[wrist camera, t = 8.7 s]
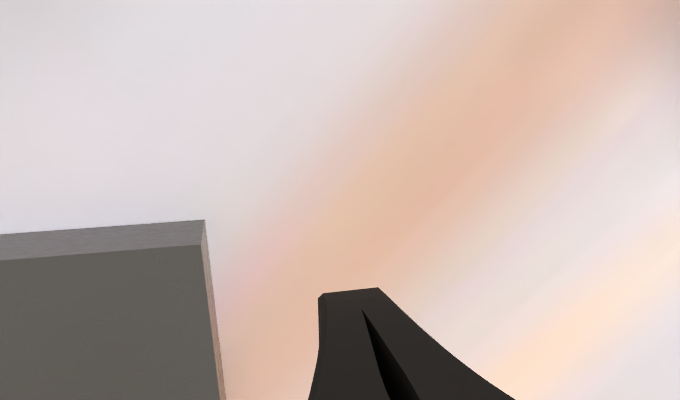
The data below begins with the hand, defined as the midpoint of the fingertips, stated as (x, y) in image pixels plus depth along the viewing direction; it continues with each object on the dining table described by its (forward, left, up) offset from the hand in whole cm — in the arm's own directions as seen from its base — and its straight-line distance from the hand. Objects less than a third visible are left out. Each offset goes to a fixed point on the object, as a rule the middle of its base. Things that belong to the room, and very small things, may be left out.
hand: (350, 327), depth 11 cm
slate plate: (-7, +10, -9) cm, 15 cm away
